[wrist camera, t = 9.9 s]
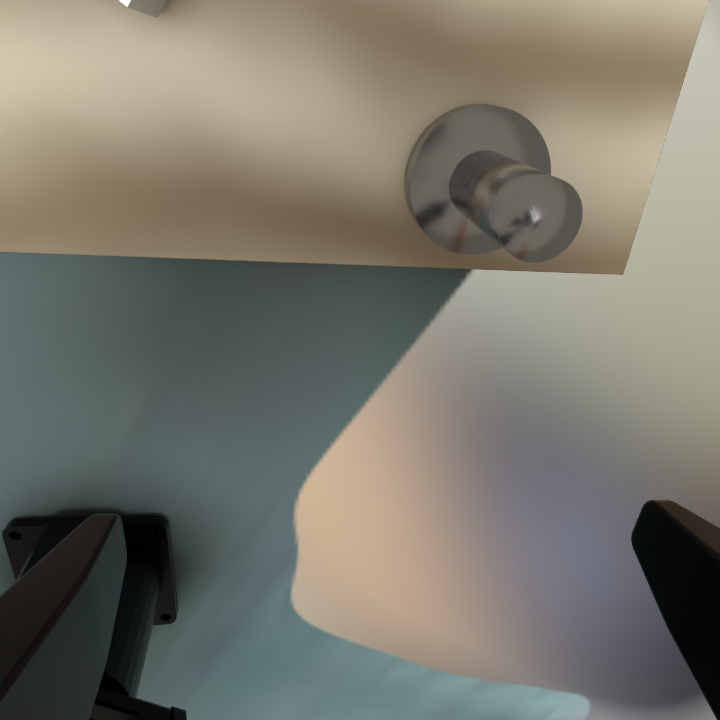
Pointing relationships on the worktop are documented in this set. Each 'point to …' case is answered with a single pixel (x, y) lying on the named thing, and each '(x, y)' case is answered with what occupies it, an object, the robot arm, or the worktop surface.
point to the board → (318, 121)
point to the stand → (490, 186)
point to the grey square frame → (146, 6)
